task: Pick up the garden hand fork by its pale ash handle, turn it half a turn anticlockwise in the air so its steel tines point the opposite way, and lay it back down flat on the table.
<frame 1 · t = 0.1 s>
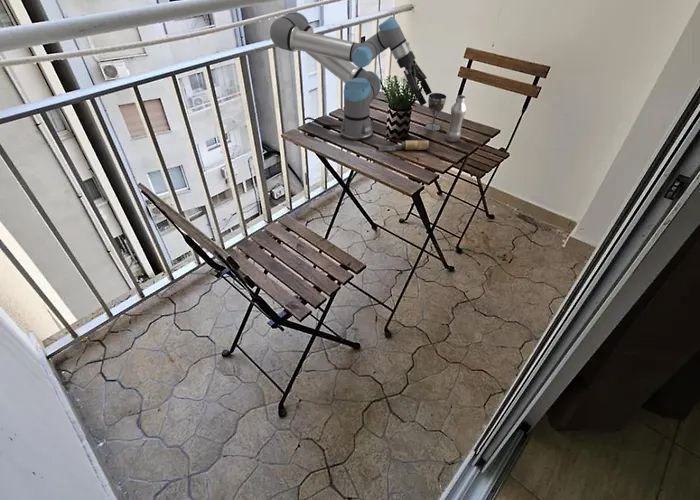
hand: (426, 99, 176), 15 cm above the table, tool tilted 35°, fingers open, 13 cm apart
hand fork: (388, 149, 172), on the table
wine glass: (432, 127, 189), on the table
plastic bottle: (452, 140, 179), on the table
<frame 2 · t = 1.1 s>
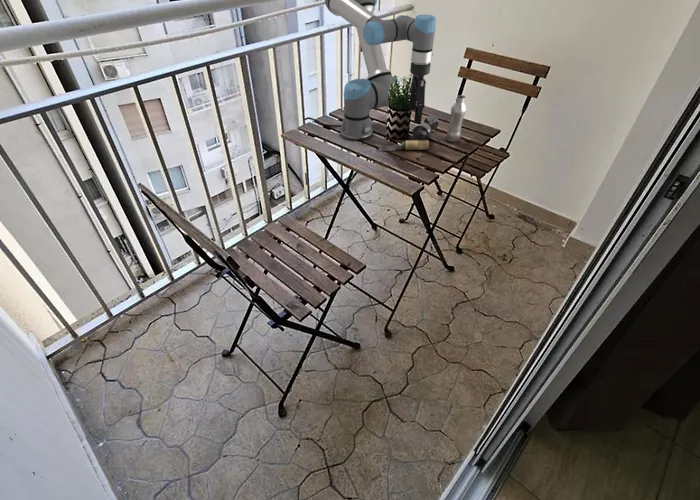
hand: (414, 116, 163), 15 cm above the table, tool pointing down, fingers open, 13 cm apart
wine glass: (431, 122, 184), point 4 cm above the table
everything else where it was.
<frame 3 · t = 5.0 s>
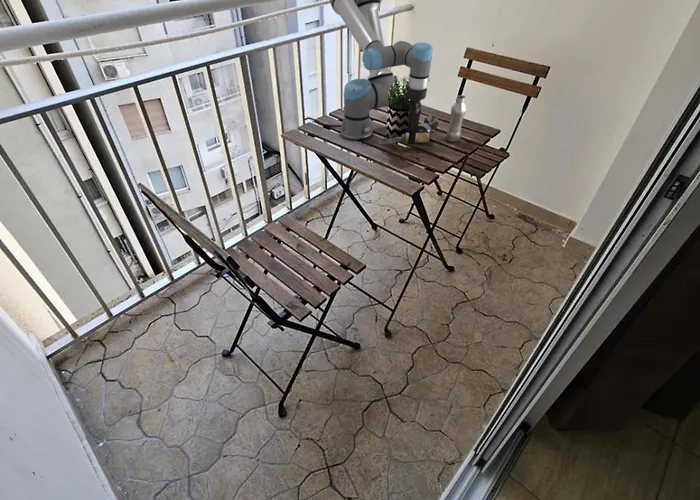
hand: (410, 141, 170), 4 cm above the table, tool pointing down, fingers closed on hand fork, 4 cm apart
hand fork: (389, 141, 170), point 3 cm above the table, touching gripper
everything else where it was.
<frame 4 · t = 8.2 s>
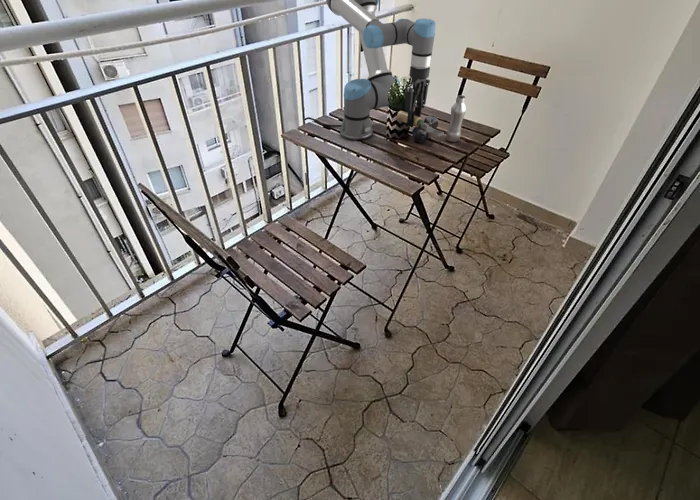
hand: (413, 124, 164), 12 cm above the table, tool pointing down, fingers closed on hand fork, 4 cm apart
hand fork: (432, 132, 160), point 11 cm above the table, touching gripper
everything else where it was.
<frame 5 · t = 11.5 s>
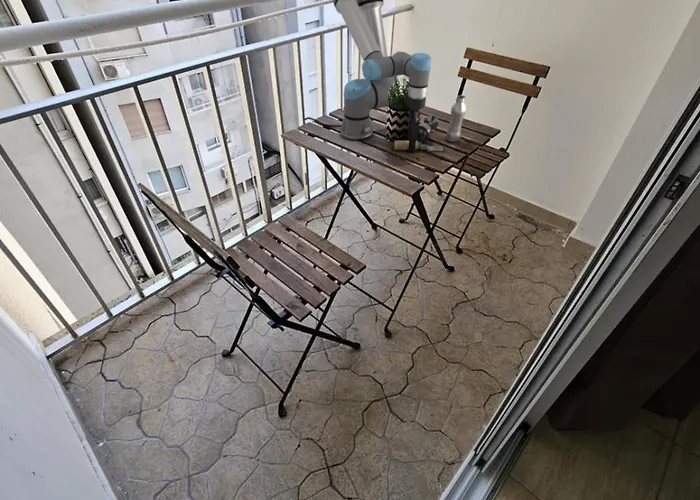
hand: (410, 149, 172), 0 cm above the table, tool pointing down, fingers open, 4 cm apart
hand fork: (432, 149, 172), on the table
everything else where it was.
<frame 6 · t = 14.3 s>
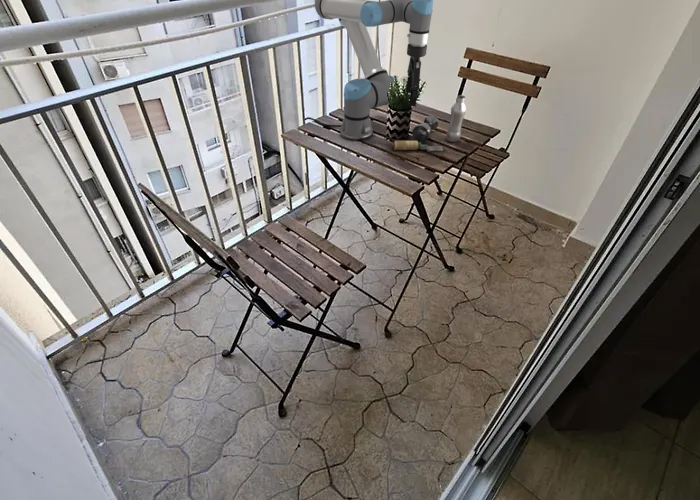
hand: (410, 98, 164), 20 cm above the table, tool pointing down, fingers open, 13 cm apart
nothing on the table moved.
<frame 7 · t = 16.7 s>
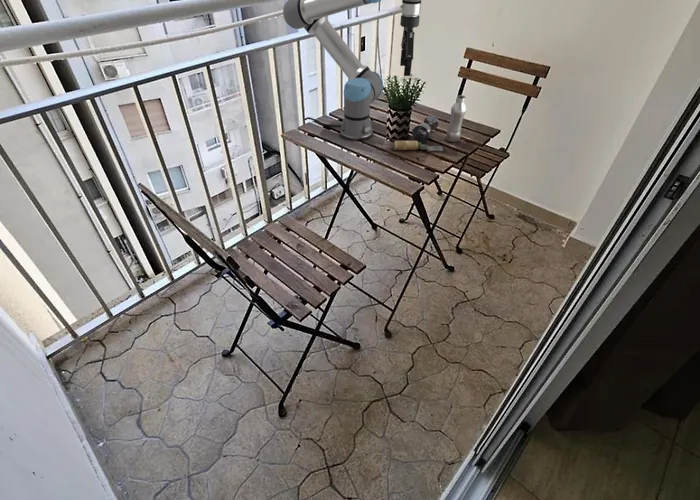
hand: (405, 70, 170), 27 cm above the table, tool pointing down, fingers open, 13 cm apart
nothing on the table moved.
at the end: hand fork 0.3 cm from the target spot, on the table; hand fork tilted 0°; the gripper is holding nothing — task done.
